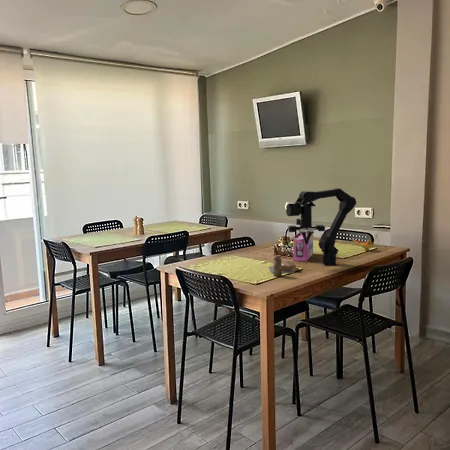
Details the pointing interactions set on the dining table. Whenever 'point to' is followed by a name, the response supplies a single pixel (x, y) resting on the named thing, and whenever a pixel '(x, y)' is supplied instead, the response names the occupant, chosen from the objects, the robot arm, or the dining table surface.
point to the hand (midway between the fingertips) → (306, 244)
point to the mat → (282, 271)
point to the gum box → (302, 248)
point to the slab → (288, 266)
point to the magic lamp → (367, 244)
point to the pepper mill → (277, 266)
